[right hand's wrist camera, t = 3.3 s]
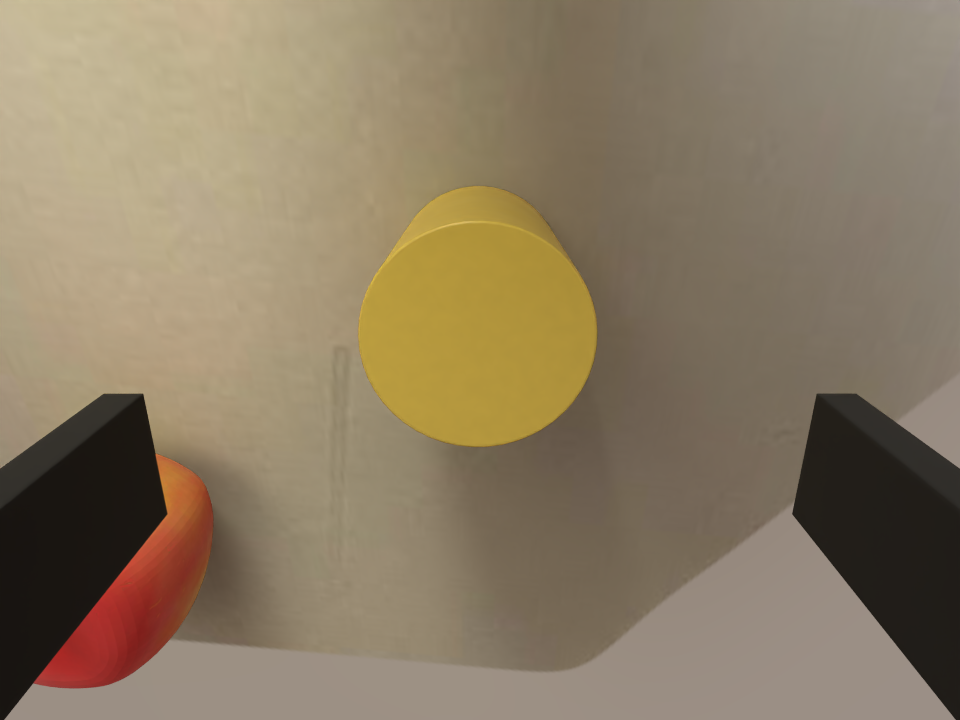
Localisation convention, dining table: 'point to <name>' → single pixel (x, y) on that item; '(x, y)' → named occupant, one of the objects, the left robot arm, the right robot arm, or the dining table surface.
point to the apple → (143, 592)
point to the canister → (477, 322)
